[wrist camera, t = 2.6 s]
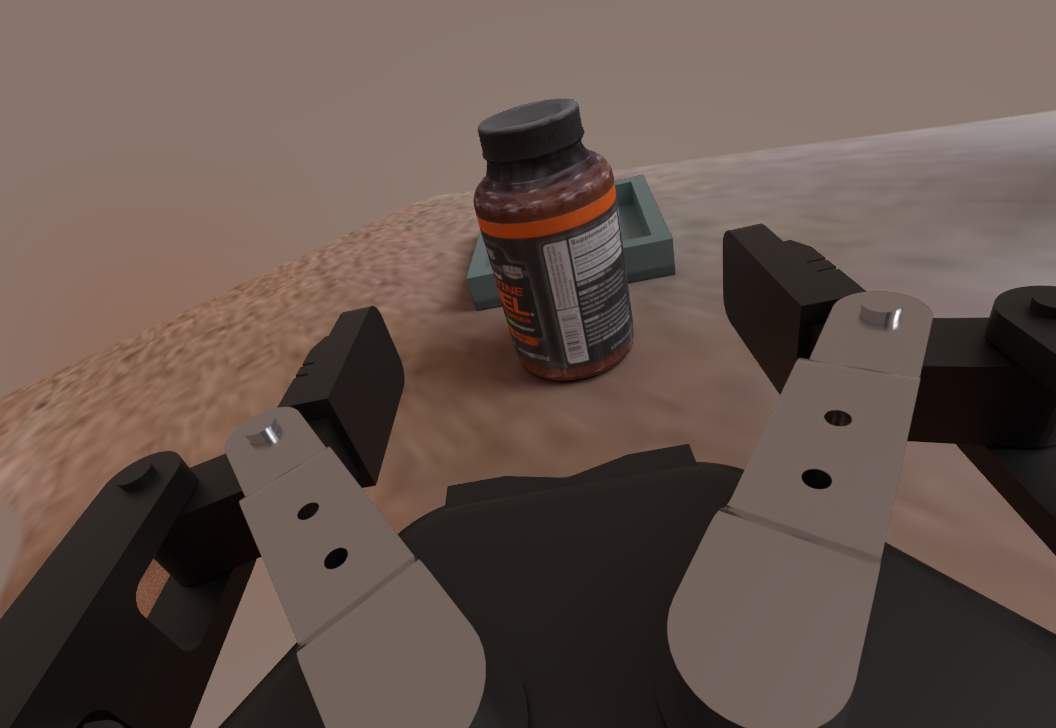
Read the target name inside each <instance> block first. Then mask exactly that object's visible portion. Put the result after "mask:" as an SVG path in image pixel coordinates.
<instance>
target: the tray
mask: <svg viewBox="0 0 1056 728" xmlns="http://www.w3.org/2000/svg"><path fill="white" fill-rule="evenodd" d="M614 182H615V189H616V199H617V203H618V211H619V218H620V226H621V233H622V242H623V249H624V256H625V265H626V273H627V281H628V282H634V281H639V280H645V279H650V278H656V277H661V276H666V275H672V274H675V264H674V251H673V238H672V236H671V234H670V232H669V230H668V228H667V225H666V223H665V221H664V219H663V217H662V215H661V212H660V210H659V208H658V206H657V204H656V202H655V199H654V197H653V195H652V193H651V191H650V189H649V186H648V184H647V182H646V180H645V178H644V175H639V176H634V177H629V178H625V179H620V180H615V181H614ZM466 280H467V283H468V286H469V289H470V292H471V295H472V298H473V301H474V304H475V307H476V310H481V309H487V308H492V307H497V306H503V305H502V301H501V298H500V295H499V291H498V288H497V285H496V280H495V278H494V274H493V271H492V267H491V264H490V261H489V257H488V254H487V251H486V247H485V243H484V241H483V238H482V234H481V230H480V234H479V237H478V240H477V244H476V247H475V251H474V254H473V257H472V261H471V264H470V268H469V271H468V274H467V278H466Z"/></svg>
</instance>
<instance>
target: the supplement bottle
mask: <svg viewBox="0 0 1056 728" xmlns="http://www.w3.org/2000/svg"><path fill="white" fill-rule="evenodd" d="M478 133H479V137H480V142H481V146H482V150H483V154H482V155H483V158H484V159H485V160H487V173H486V177H484V178H483V180H482V181H481V183H480V184H479V185H478V187H477V188H476V191H475V195H474V206H475V211H476V215H477V219H478V222H479V226H480V229H481V234H482V238H483V241H484V243H485V247H486V251H487V254H488V257H489V261H490V264H491V267H492V271H493V274H494V278H495V280H496V285H497V288H498V291H499V295H500V298H501V301H502V305H503V309H504V313H505V316H506V319H507V323H508V326H509V330H510V333H511V336H512V339H513V342H514V346H515V349H516V351H517V353H518V356H519V359H520V361H521V363H522V364H523V366H524V367H525V368H526V369H527V370H529V371H530V372H531V373H533V374H535V375H537V376H540V377H543V378H546V379H550V380H557V381H562V380H577V379H584V378H588V377H591V376H595V375H597V374H600V373H603V372H604V371H606V370H608V369H609V368H611V367H613V366H614V365H616V364H618V363H619V361H620V360H622V359H623V358H624V357H625V356H626V354H627V353H628V352H629V350H630V348H631V346H632V343H633V320H632V313H631V304H630V296H629V289H628V281H627V273H626V265H625V256H624V249H623V242H622V233H621V226H620V218H619V211H618V203H617V199H616V189H615V182H614V177H613V173H612V169H611V167H610V165H609V164H608V162H607V161H606V159H605V158H604V157H602V156H601V155H600V154H598V153H596V152H593V151H590V150H588V149H586V148H585V147H584V146H583V144H582V142H581V139H582V137H583V134H584V130H583V127H582V124H581V118H580V113H579V106H578V103H577V102H576V101H574V100H573V99H551V100H543V101H539V102H533V103H528V104H525V105H521V106H518V107H514V108H511V109H509V110H506V111H503V112H501V113H498V114H496V115H494V116H492V117H489V118H487V119H485V120H484V121H483V122H482V123H480V125H479V126H478Z"/></svg>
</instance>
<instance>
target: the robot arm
mask: <svg viewBox="0 0 1056 728" xmlns="http://www.w3.org/2000/svg"><path fill="white" fill-rule="evenodd" d="M723 298H724V305H725V310H726V313H727V316H728V319H729V321H730V323H731V324H732V326H733V327H734V328H735V330H736V331H737V333H738V334H739V336H740V337H741V339H742V340H743V342H744V343H745V344H746V346H747V347H748V349H749V350H750V352H751V353H752V355H753V356H754V358H755V359H756V361H757V362H758V363H759V365H760V366H761V368H762V369H763V371H764V372H765V374H766V375H767V377H768V378H769V379H770V381H771V382H772V384H773V385H774V387H775V388H776V390H777V391H778V393H779V394H780V397H779V399H778V401H777V403H776V405H775V407H774V409H773V412H772V414H771V416H770V418H769V420H768V422H767V424H766V426H765V428H764V430H763V433H762V435H761V437H760V439H759V441H758V443H757V445H756V447H755V449H754V452H753V454H752V456H751V458H750V460H749V462H748V464H747V466H746V468H745V470H743V469H740V468H737V467H732V466H728V465H723V464H716V463H708V462H696V460H695V458H694V456H693V453H692V451H691V448H690V446H689V444H685V445H680V446H674V447H668V448H663V449H657V450H651V451H646V452H640V453H634V454H629V455H625V456H623V457H620V458H618V459H615V460H612V461H610V462H607V463H605V464H602V465H599V466H597V467H594V468H592V469H589V470H586V471H584V472H581V473H579V474H576V475H573V476H570V477H565V478H551V477H515V476H503V477H498V478H492V479H486V480H480V481H475V482H469V483H463V484H458V485H452V486H448V488H447V496H446V504H445V506H442V507H440V508H438V509H436V510H434V511H432V512H430V513H428V514H426V515H424V516H422V517H421V518H419V519H417V520H416V521H414V522H413V523H411V524H410V525H409V526H407V527H406V528H405V529H403V530H402V531H401V532H400V533H399V534H397V533H396V532H395V531H394V529H393V528H392V527H391V526H390V524H389V523H388V522H387V520H386V519H385V518H384V516H383V515H382V514H381V513H380V511H379V510H378V509H377V507H376V506H375V505H374V503H373V502H372V501H371V500H370V498H369V497H368V496H367V494H366V493H365V492H364V490H363V489H362V488H364V487H370V486H375V485H376V483H377V480H378V476H379V473H380V469H381V466H382V462H383V458H384V455H385V451H386V448H387V444H388V441H389V437H390V433H391V430H392V426H393V423H394V419H395V416H396V412H397V409H398V405H399V401H400V398H401V394H402V391H403V387H404V370H403V366H402V362H401V360H400V357H399V355H398V353H397V350H396V348H395V346H394V343H393V341H392V339H391V336H390V334H389V332H388V329H387V327H386V325H385V323H384V320H383V318H382V316H381V314H380V312H379V310H378V309H377V308H376V307H374V306H371V307H366V308H361V309H357V310H352V311H347V312H343V313H341V315H340V316H339V318H338V320H337V322H336V324H335V326H334V327H333V329H332V331H331V333H330V335H329V336H327V337H325V338H324V339H323V340H321V341H320V342H319V343H318V344H317V345H316V346H315V347H314V348H313V349H311V350H310V352H309V354H308V355H307V357H306V359H305V361H304V362H303V364H302V365H303V367H300V369H299V371H298V373H297V374H296V378H294V380H293V381H292V383H291V385H290V386H289V388H288V390H287V392H286V393H285V395H284V397H283V399H282V400H281V402H280V404H279V406H278V407H277V408H274V409H270V410H267V411H265V412H262V413H260V414H258V415H256V416H254V417H252V418H251V419H249V420H247V421H246V422H245V423H243V424H242V425H241V426H239V427H238V428H237V429H236V430H235V431H234V432H233V433H232V435H231V436H230V437H229V439H228V440H227V442H226V445H225V452H226V454H224V455H221V456H219V457H216V458H214V459H211V460H209V461H206V462H204V463H201V464H199V465H196V466H193V467H191V468H189V467H188V465H187V464H186V463H185V462H184V461H183V459H182V458H181V457H180V456H179V455H178V454H177V453H175V452H172V451H164V452H158V453H155V454H152V455H149V456H146V457H144V458H142V459H140V460H138V461H136V462H134V463H132V464H131V465H129V466H127V467H126V468H124V469H123V470H122V471H120V472H119V473H118V474H116V475H115V476H114V477H113V478H112V479H111V480H110V481H109V482H108V483H107V484H106V485H105V486H104V487H103V488H102V490H101V491H100V492H99V494H98V495H97V496H96V497H95V499H94V500H93V501H92V502H91V504H90V505H89V506H88V508H87V509H86V510H85V511H84V513H83V514H82V515H81V517H80V518H79V519H78V520H77V522H76V523H75V524H74V526H73V527H72V528H71V529H70V531H69V532H68V533H67V535H66V536H65V537H64V538H63V540H62V541H61V542H60V543H59V545H58V546H57V547H56V549H55V550H54V551H53V552H52V554H51V555H50V556H49V558H48V559H47V560H46V561H45V563H44V564H43V565H42V567H41V568H40V569H39V570H38V572H37V573H36V574H35V576H34V577H33V578H32V579H31V581H30V582H29V583H28V585H27V586H26V587H25V588H24V590H23V591H22V592H21V593H20V595H19V596H18V597H17V599H16V600H15V601H14V602H13V604H12V605H11V606H10V608H9V609H8V610H7V611H6V613H5V614H4V615H3V617H2V618H1V619H0V728H190V727H191V724H192V721H193V719H194V716H195V714H196V711H197V709H198V706H199V704H200V701H201V699H202V696H203V694H204V691H205V689H206V686H207V683H208V681H209V679H210V676H211V674H212V671H213V669H214V666H215V663H216V661H217V658H218V656H219V653H220V651H221V648H222V646H223V643H224V641H225V638H226V636H227V633H228V630H229V628H230V625H231V623H232V621H233V618H234V616H235V613H236V611H237V608H238V605H239V603H240V600H241V598H242V595H243V593H244V590H245V588H246V585H247V582H248V580H249V578H250V575H251V573H252V570H253V567H254V565H255V562H256V559H257V558H259V557H262V558H263V560H264V563H265V565H266V568H267V570H268V573H269V575H270V577H271V580H272V582H273V584H274V587H275V589H276V592H277V594H278V596H279V599H280V601H281V603H282V606H283V608H284V611H285V613H286V615H287V618H288V620H289V622H290V625H291V627H292V629H293V632H294V634H295V637H296V640H297V643H296V644H295V645H294V646H293V647H292V648H291V649H290V650H289V651H288V653H287V654H286V655H285V656H284V657H283V658H282V659H281V660H280V661H279V662H278V663H277V665H276V666H275V667H274V668H273V669H272V670H271V671H270V672H269V673H268V674H267V675H266V676H265V677H264V679H263V680H262V681H261V682H260V683H259V684H258V685H257V686H256V687H255V688H254V689H253V691H252V692H251V693H250V694H249V695H248V696H247V697H246V698H245V700H243V701H242V703H241V704H240V705H239V706H238V707H237V708H236V709H235V710H234V711H233V713H231V715H230V716H229V717H228V718H227V719H226V720H225V721H224V722H223V723H222V724H221V725H220V726H219V728H1056V634H1054V633H1052V632H1050V631H1048V630H1046V629H1045V628H1043V627H1041V626H1039V625H1037V624H1035V623H1033V622H1032V621H1030V620H1028V619H1026V618H1024V617H1022V616H1021V615H1019V614H1017V613H1015V612H1013V611H1011V610H1009V609H1008V608H1006V607H1004V606H1002V605H1000V604H998V603H997V602H995V601H993V600H991V599H989V598H987V597H985V596H984V595H982V594H980V593H978V592H976V591H974V590H973V589H971V588H969V587H967V586H965V585H963V584H962V583H960V582H958V581H956V580H954V579H952V578H950V577H949V576H947V575H945V574H943V573H941V572H939V571H938V570H936V569H934V568H932V567H930V566H928V565H926V564H925V563H923V562H921V561H919V560H917V559H915V558H914V557H912V556H910V555H908V554H906V553H904V552H903V551H901V550H899V549H897V548H895V547H893V546H891V545H890V544H888V543H886V542H885V539H886V535H887V530H888V526H889V521H890V516H891V512H892V507H893V503H894V498H895V493H896V489H897V484H898V480H899V475H900V470H901V466H902V461H903V457H904V452H905V448H906V443H907V441H917V442H934V443H952V444H956V445H957V446H958V447H959V449H960V450H961V451H962V452H963V453H964V454H965V455H966V456H967V457H968V459H969V460H970V461H971V462H972V463H973V464H974V465H975V466H976V467H977V469H978V470H979V471H980V472H981V473H982V474H983V475H984V476H985V477H986V479H987V480H988V481H989V482H990V483H991V484H992V485H993V486H994V487H995V489H996V490H997V491H998V492H999V493H1000V494H1001V495H1002V496H1003V498H1004V499H1005V500H1006V501H1007V502H1008V503H1009V504H1010V505H1011V506H1012V508H1013V509H1014V510H1015V511H1016V512H1017V513H1018V514H1019V515H1020V516H1021V518H1022V519H1023V520H1024V521H1025V522H1026V523H1027V524H1028V525H1029V526H1030V528H1031V529H1032V530H1033V531H1034V532H1035V533H1036V534H1037V535H1038V536H1039V538H1040V539H1041V540H1042V541H1043V542H1044V543H1045V544H1046V545H1047V546H1048V548H1049V549H1050V550H1051V551H1052V552H1053V553H1054V554H1055V555H1056V286H1027V287H1020V288H1015V289H1011V290H1008V291H1006V292H1004V293H1002V294H1000V295H999V296H998V297H997V298H996V299H995V301H994V305H993V308H992V311H991V314H990V317H989V318H933V313H932V311H931V309H930V308H929V307H928V306H927V305H926V304H925V303H923V302H922V301H920V300H918V299H916V298H913V297H911V296H907V295H904V294H899V293H893V292H883V291H870V292H867V291H865V290H864V289H863V288H862V287H860V286H859V285H858V284H857V283H855V282H854V281H853V280H852V279H851V278H849V277H848V276H847V275H846V274H844V273H843V272H842V271H841V270H839V269H836V266H835V265H833V264H832V263H831V262H830V261H828V260H825V257H823V256H822V255H821V254H820V253H818V252H817V251H816V250H815V249H814V248H812V247H810V246H807V245H804V244H801V243H798V242H795V241H792V240H788V241H782V240H781V239H780V238H779V237H777V236H776V235H775V234H774V233H773V232H772V231H771V230H769V229H768V228H767V227H766V226H765V225H763V224H757V225H752V226H748V227H743V228H738V229H734V230H729V231H726V232H725V234H724V237H723ZM153 558H154V559H155V560H156V561H157V562H158V563H159V564H160V565H161V566H162V567H163V568H164V569H165V570H166V571H167V572H168V573H169V574H170V577H169V578H168V580H167V582H166V584H165V586H164V588H163V590H162V591H161V593H160V595H159V597H158V599H157V601H156V603H155V604H154V606H153V608H152V610H151V612H150V614H149V616H148V617H147V619H146V618H145V617H144V616H143V615H142V614H141V613H140V611H139V610H138V607H137V603H136V591H137V587H138V584H139V582H140V580H141V578H142V577H143V575H144V573H145V571H146V570H147V568H148V566H149V565H150V563H151V561H152V559H153Z"/></svg>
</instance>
